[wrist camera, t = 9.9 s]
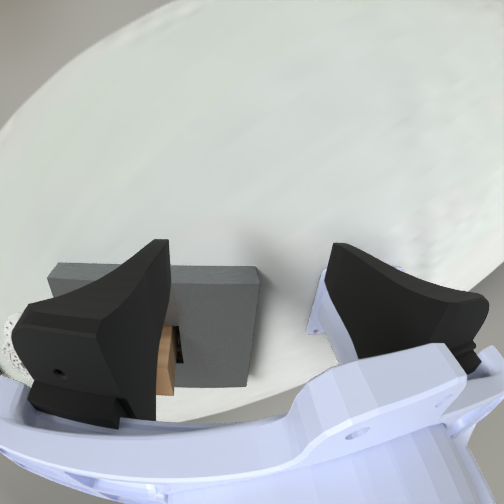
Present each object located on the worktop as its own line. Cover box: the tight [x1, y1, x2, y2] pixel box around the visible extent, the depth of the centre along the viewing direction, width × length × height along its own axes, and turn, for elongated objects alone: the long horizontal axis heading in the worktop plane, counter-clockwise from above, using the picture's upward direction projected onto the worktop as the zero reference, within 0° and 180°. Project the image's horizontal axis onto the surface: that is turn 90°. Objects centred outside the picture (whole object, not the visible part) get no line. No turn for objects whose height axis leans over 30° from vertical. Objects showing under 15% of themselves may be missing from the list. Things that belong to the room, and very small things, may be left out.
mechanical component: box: [2, 313, 34, 381], centre depth 23 cm, size 10×4×10 cm
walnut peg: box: [156, 325, 178, 396], centre depth 22 cm, size 4×4×7 cm
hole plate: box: [47, 263, 260, 388], centre depth 24 cm, size 18×14×2 cm
